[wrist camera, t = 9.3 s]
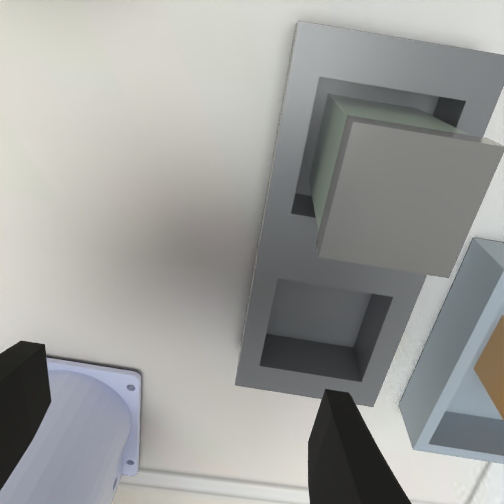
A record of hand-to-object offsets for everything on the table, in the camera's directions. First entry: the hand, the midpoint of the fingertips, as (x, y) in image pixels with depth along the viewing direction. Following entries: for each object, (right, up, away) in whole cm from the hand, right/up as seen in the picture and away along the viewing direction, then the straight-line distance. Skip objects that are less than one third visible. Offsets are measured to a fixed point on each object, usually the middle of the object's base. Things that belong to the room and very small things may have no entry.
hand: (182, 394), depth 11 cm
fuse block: (+6, +5, +9) cm, 12 cm away
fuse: (+6, +8, +6) cm, 12 cm away
